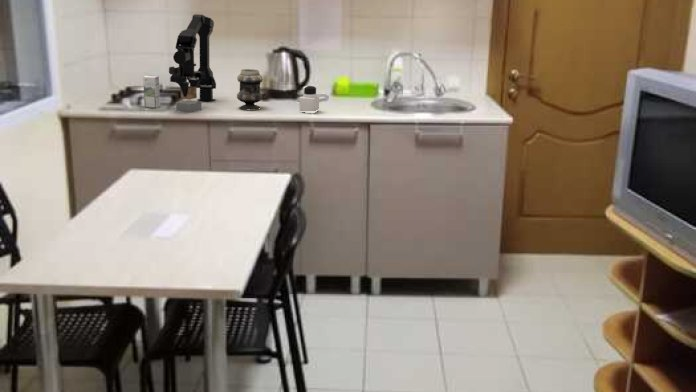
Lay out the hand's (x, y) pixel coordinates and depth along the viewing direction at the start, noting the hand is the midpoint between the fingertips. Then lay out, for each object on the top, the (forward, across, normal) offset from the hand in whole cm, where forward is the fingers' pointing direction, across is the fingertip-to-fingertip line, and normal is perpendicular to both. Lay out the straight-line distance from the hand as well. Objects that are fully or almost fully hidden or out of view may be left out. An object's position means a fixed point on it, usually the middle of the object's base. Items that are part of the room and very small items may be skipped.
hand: (188, 95), depth 339 cm
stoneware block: (+7, 0, 0) cm, 7 cm away
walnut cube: (+1, 0, 0) cm, 1 cm away
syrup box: (+7, +4, -18) cm, 20 cm away
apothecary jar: (+7, -20, +20) cm, 29 cm away
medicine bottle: (+7, -29, +47) cm, 56 cm away
